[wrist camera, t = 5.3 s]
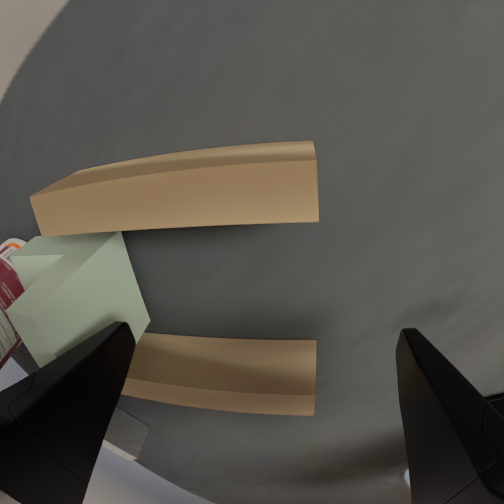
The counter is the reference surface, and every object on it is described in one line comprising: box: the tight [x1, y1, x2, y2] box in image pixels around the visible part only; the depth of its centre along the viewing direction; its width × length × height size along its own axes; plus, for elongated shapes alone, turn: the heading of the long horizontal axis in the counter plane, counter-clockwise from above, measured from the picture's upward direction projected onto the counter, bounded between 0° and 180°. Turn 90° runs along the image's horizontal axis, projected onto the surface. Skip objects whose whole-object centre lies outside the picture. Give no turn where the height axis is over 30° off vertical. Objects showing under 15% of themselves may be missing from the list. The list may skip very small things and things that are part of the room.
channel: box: [30, 141, 319, 415], centre depth 11 cm, size 10×9×3 cm
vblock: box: [102, 407, 150, 461], centre depth 18 cm, size 11×6×3 cm, turn 7°
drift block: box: [6, 231, 151, 368], centre depth 11 cm, size 5×6×6 cm
